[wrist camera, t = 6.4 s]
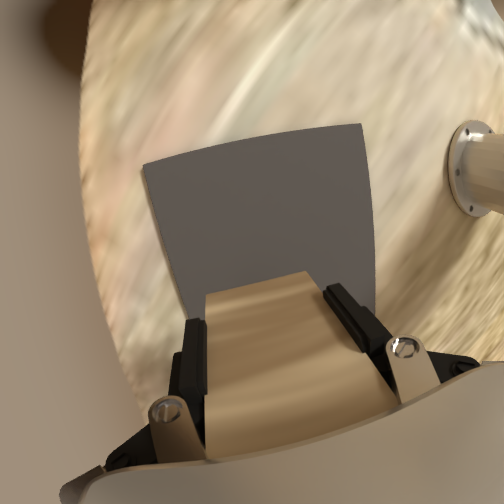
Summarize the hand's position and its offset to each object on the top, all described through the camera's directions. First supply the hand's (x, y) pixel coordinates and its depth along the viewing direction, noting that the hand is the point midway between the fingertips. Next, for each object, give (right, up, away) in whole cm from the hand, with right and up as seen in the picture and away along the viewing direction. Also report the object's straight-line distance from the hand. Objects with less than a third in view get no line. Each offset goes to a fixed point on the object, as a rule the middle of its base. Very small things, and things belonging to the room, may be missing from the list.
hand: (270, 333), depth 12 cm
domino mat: (+3, -3, +18) cm, 19 cm away
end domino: (0, +1, +3) cm, 3 cm away
